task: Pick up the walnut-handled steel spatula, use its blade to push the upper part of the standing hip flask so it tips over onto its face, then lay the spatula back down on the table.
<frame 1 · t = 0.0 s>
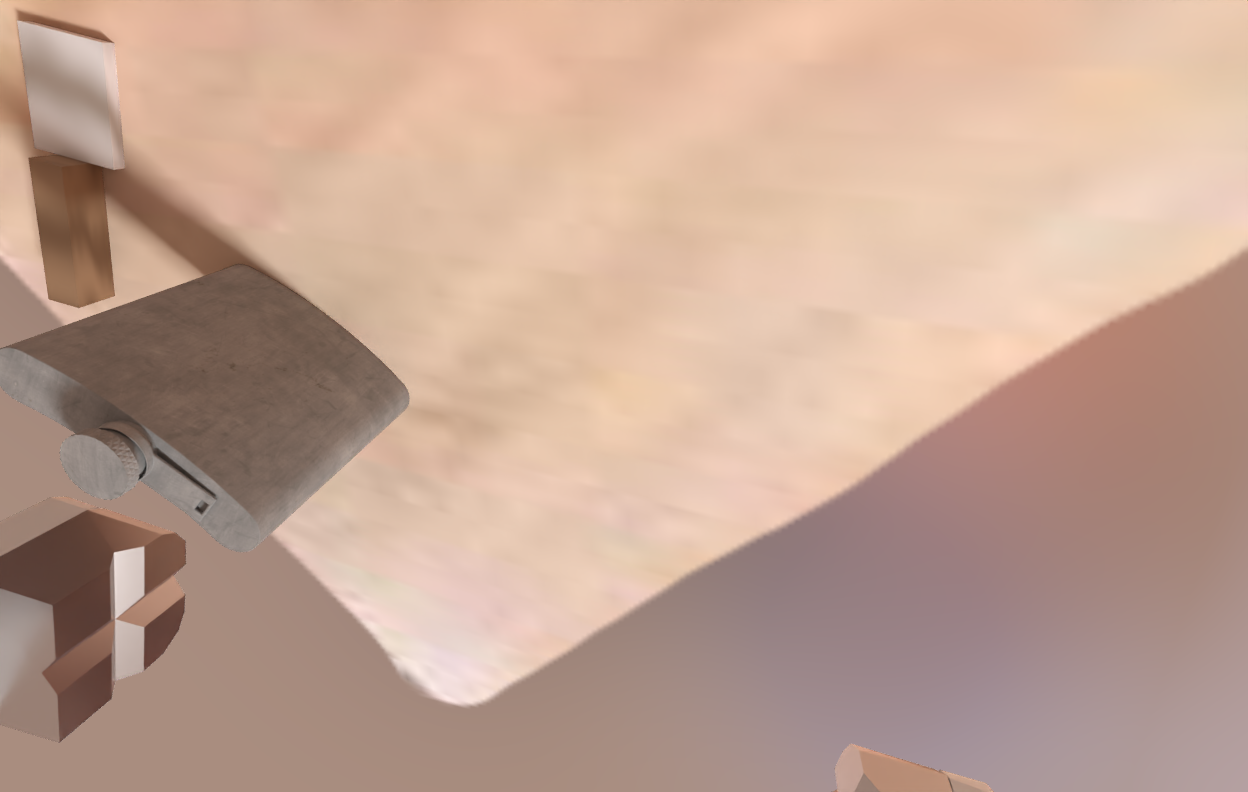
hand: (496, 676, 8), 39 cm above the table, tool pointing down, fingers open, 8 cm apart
spatula: (88, 171, 50), on the table
hip flask: (322, 336, 53), on the table
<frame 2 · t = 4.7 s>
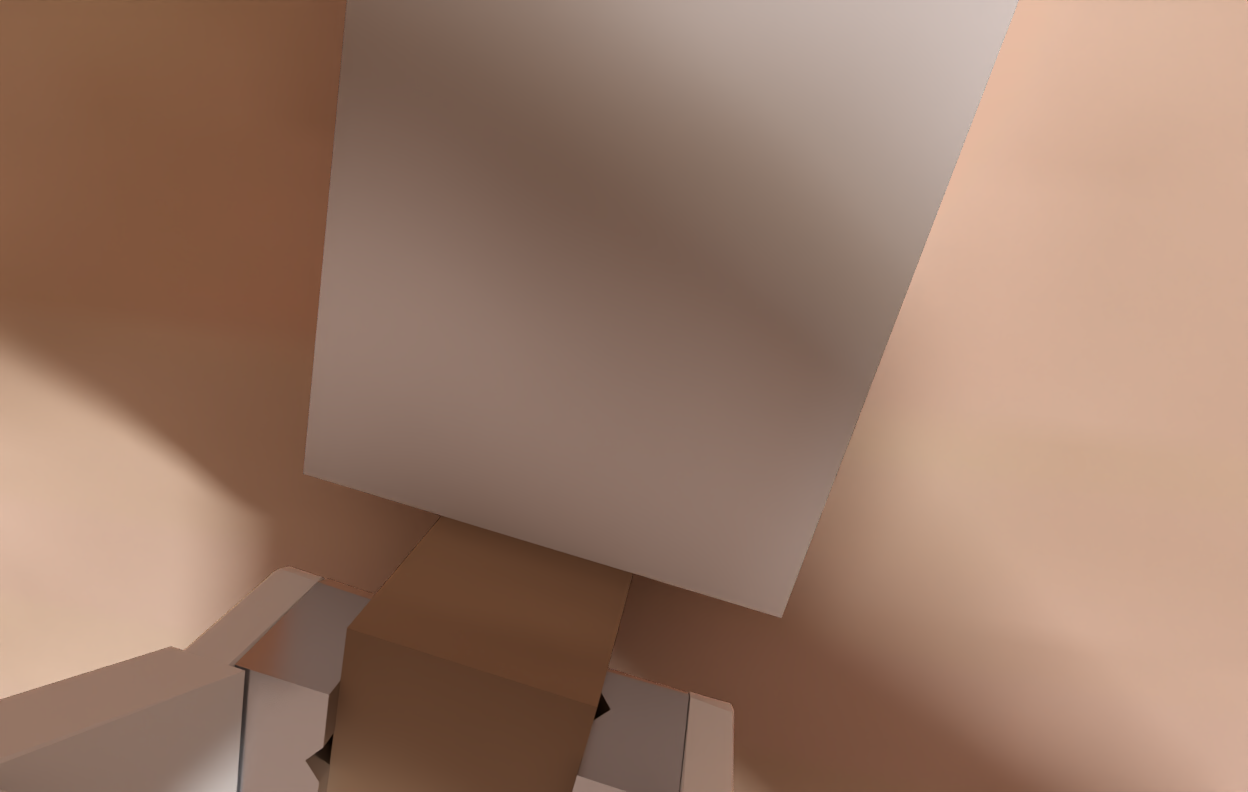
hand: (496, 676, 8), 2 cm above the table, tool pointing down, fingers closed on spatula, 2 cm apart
spatula: (542, 568, 10), on the table, touching gripper
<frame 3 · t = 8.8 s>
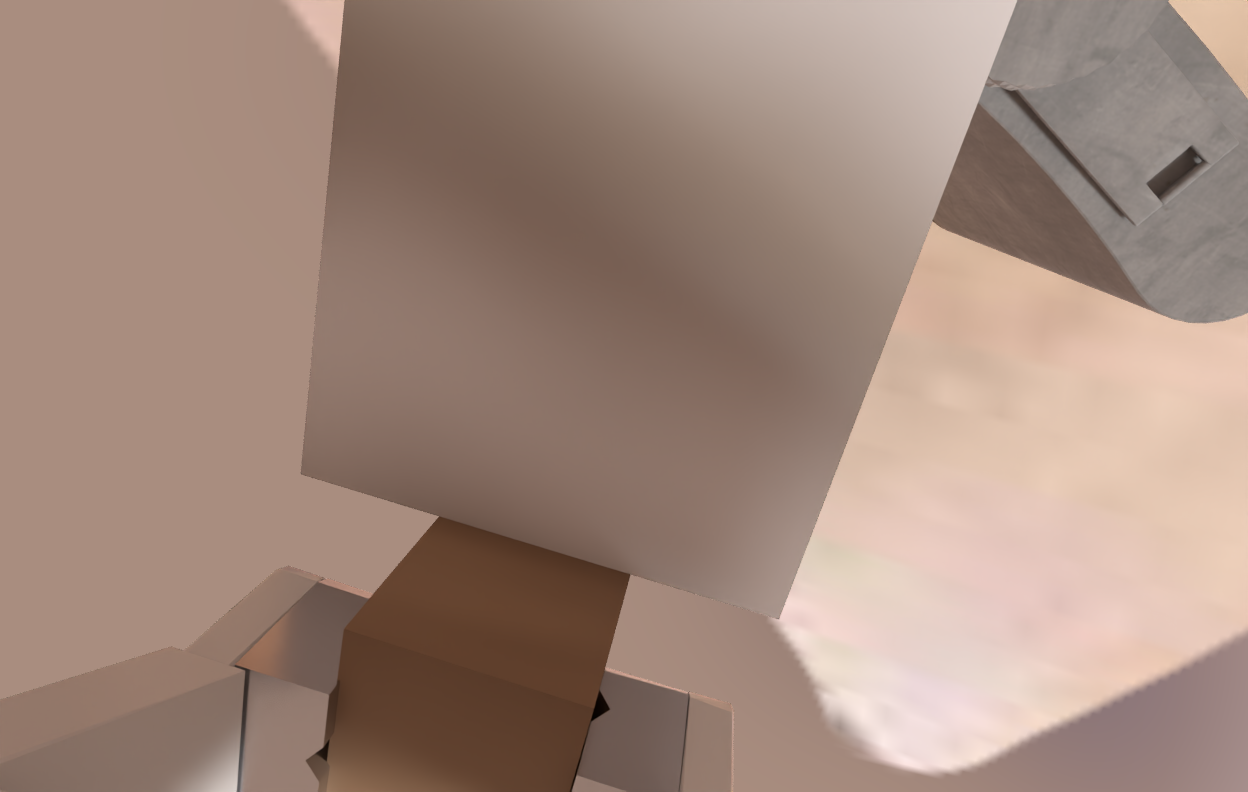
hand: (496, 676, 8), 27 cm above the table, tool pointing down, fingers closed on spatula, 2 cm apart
spatula: (539, 569, 10), point 25 cm above the table, touching gripper
hip flask: (858, 86, 30), on the table
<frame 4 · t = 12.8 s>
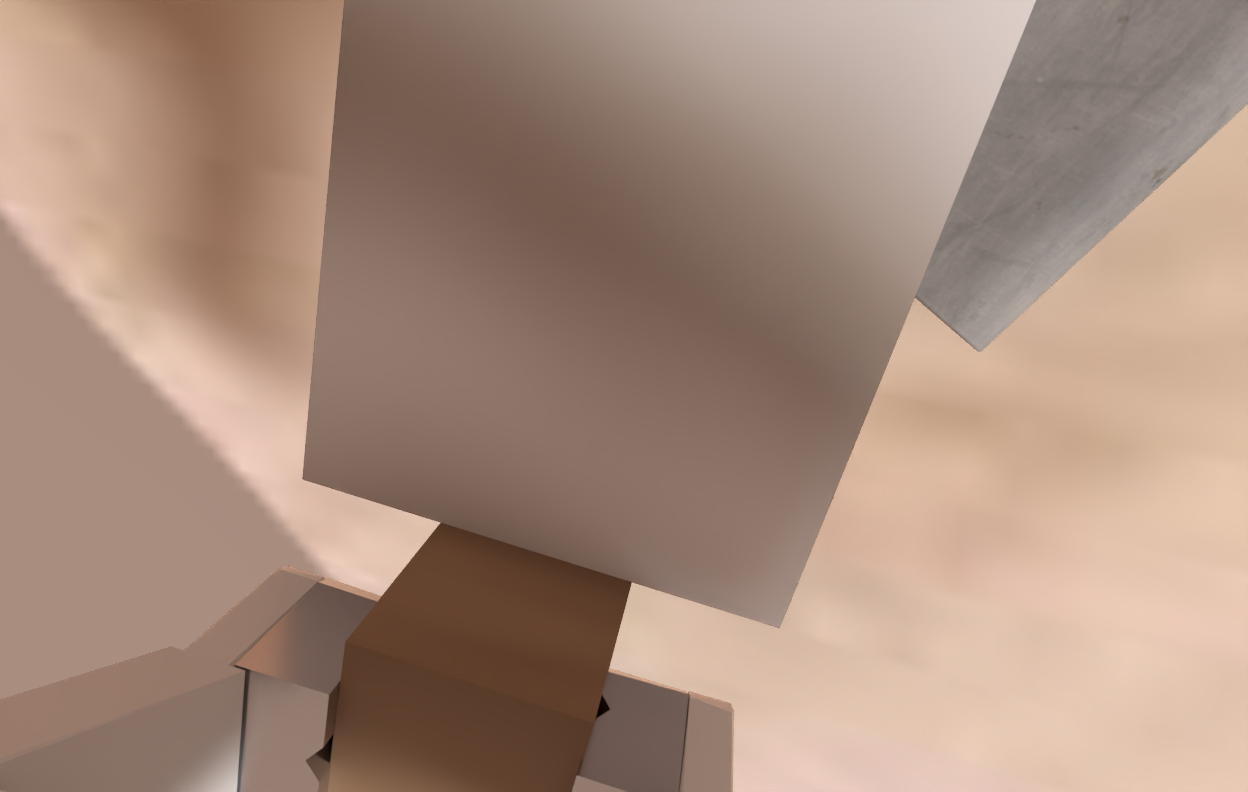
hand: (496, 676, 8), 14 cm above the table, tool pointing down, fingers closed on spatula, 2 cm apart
spatula: (541, 572, 10), point 12 cm above the table, touching gripper
hip flask: (723, 142, 17), point 2 cm above the table
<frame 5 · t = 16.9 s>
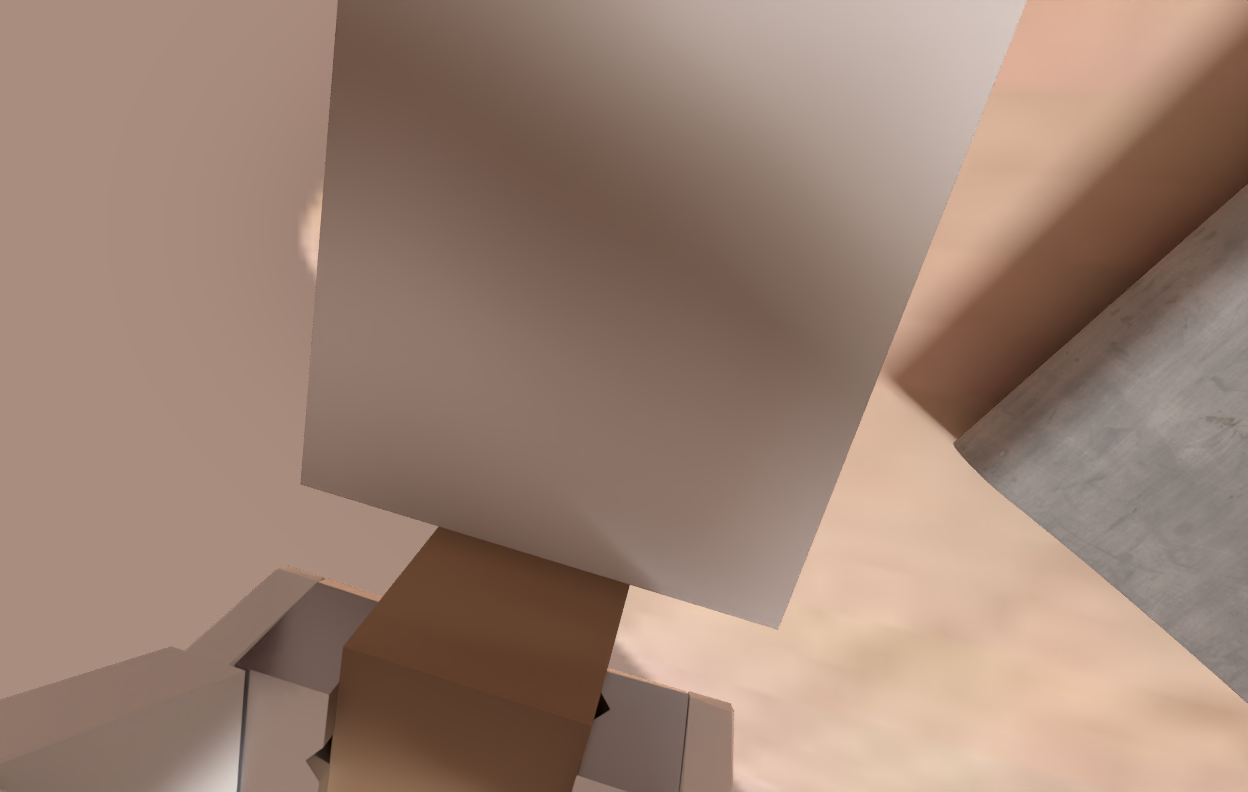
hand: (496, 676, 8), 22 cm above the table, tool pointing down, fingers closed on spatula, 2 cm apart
spatula: (540, 575, 10), point 20 cm above the table, touching gripper
hip flask: (1098, 574, 28), point 2 cm above the table
when the fingers open (3 cm above the table, at t = 20.5 s): spatula drops 1 cm, on the table.
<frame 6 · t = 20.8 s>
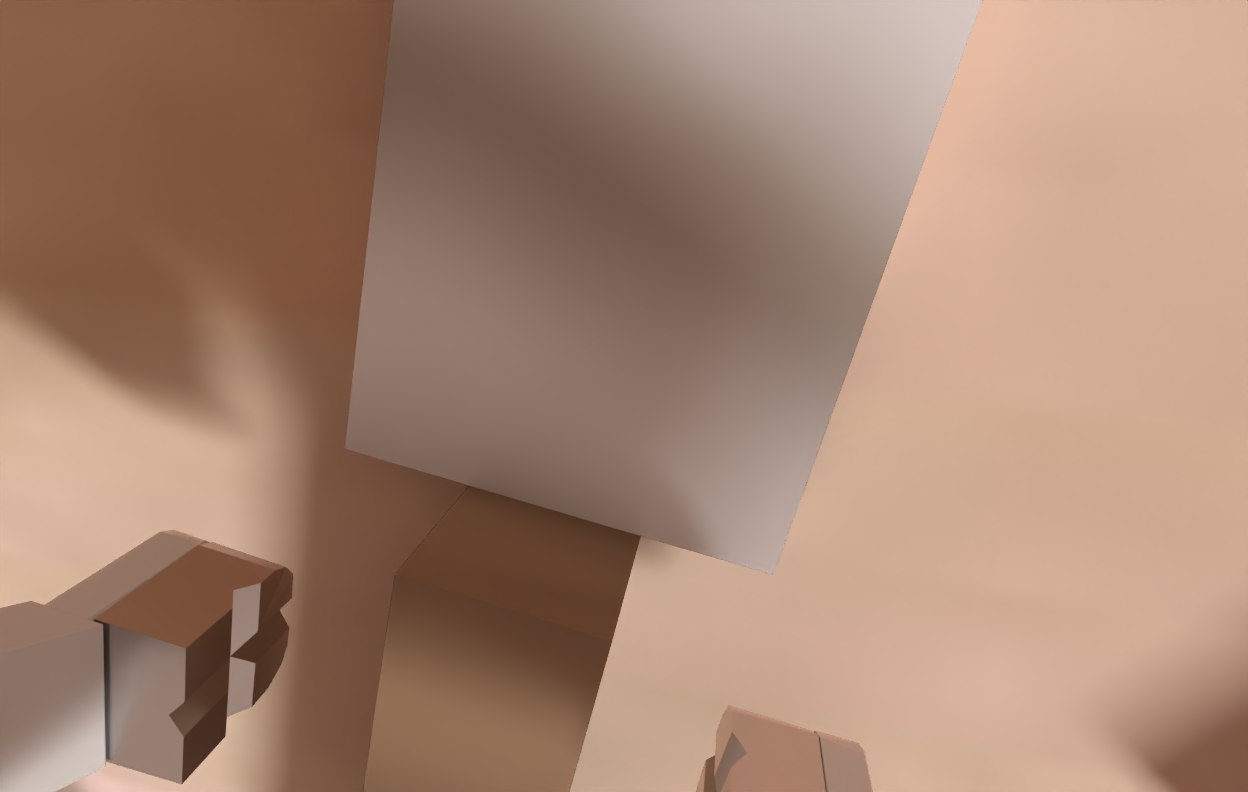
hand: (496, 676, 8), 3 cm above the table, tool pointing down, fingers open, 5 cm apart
spatula: (557, 536, 11), on the table
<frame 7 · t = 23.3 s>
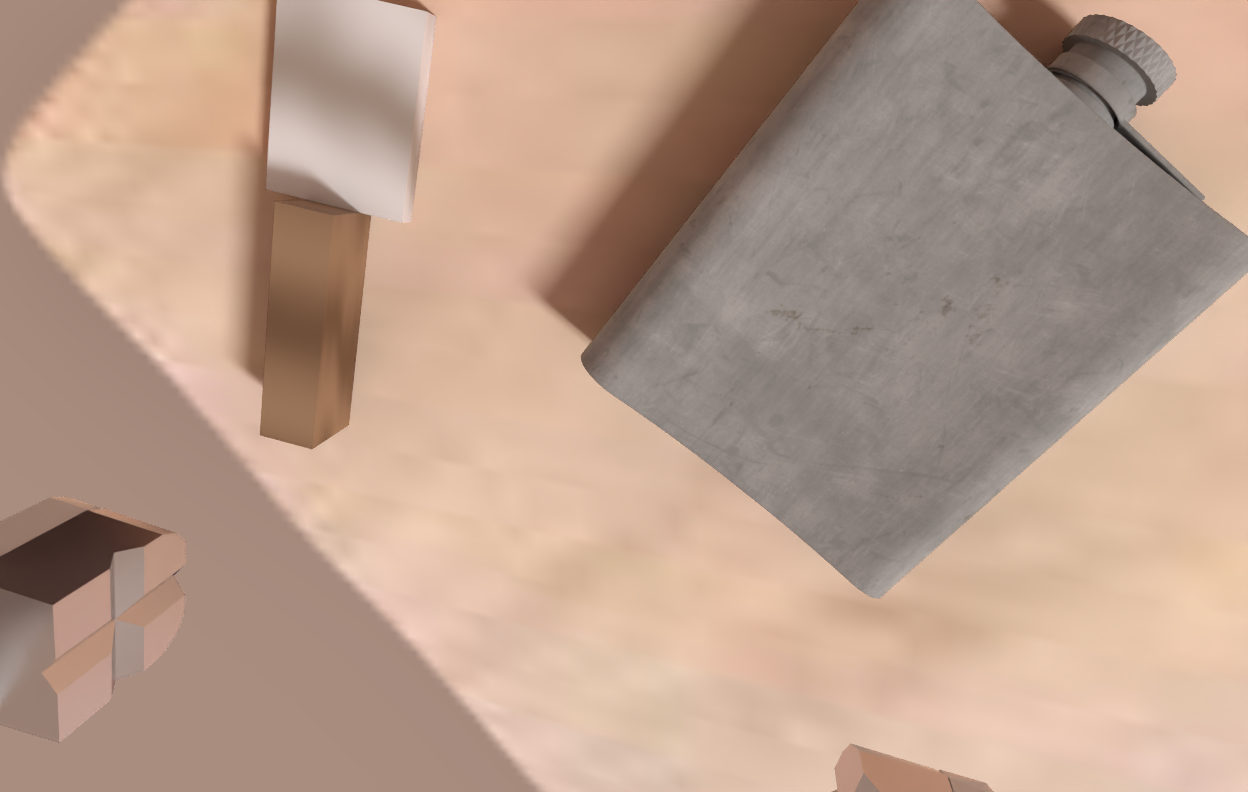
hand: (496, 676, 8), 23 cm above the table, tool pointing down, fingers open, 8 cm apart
spatula: (343, 228, 31), on the table
hip flask: (730, 473, 30), point 2 cm above the table
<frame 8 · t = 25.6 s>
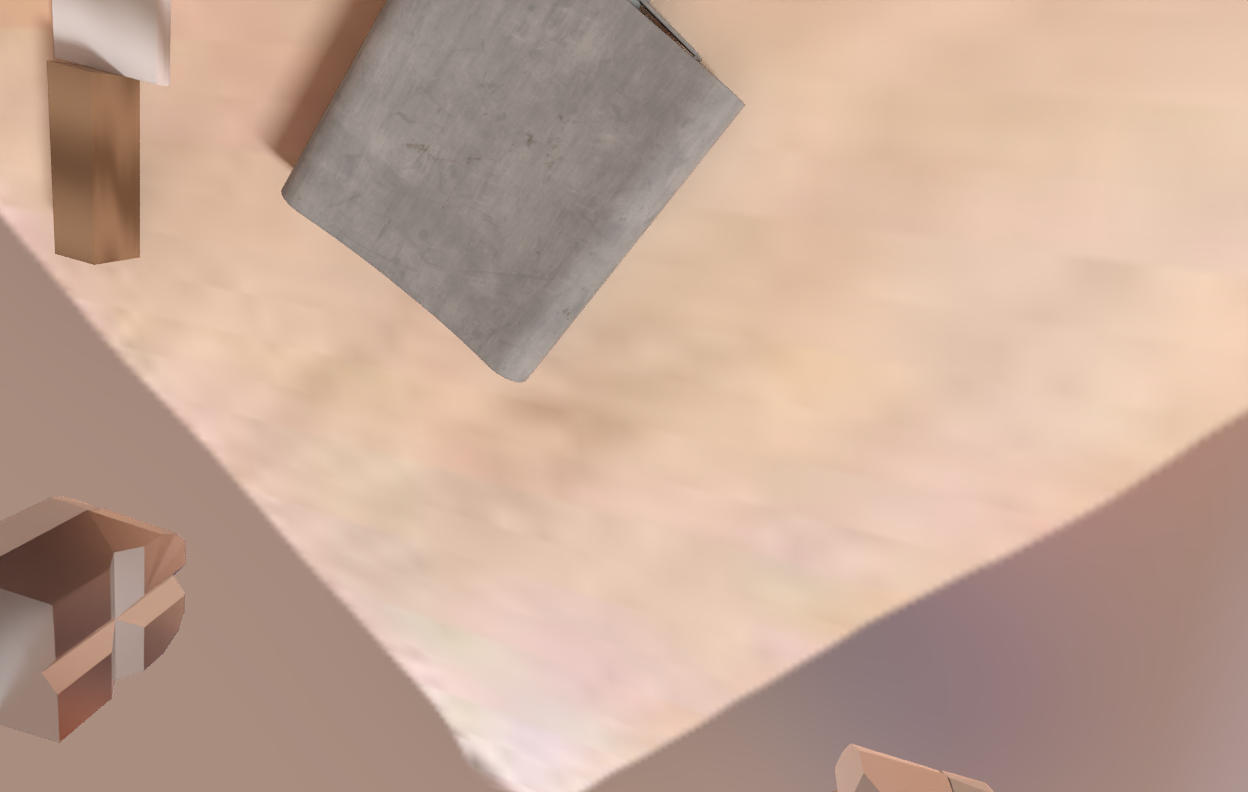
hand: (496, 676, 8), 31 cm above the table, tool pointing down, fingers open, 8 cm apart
spatula: (120, 92, 40), on the table
hip flask: (410, 286, 38), point 2 cm above the table
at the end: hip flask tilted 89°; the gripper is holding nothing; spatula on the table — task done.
